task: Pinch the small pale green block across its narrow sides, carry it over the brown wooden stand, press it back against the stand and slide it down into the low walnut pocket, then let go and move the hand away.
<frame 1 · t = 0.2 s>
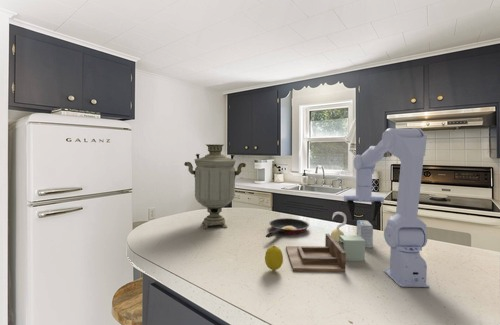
hand: (362, 219, 101), 10 cm above the countertop, tool pointing down, fingers open, 7 cm apart
brown wooden stand: (312, 259, 88), on the countertop
frying pan: (283, 234, 115), on the countertop
medicine box: (364, 244, 102), on the countertop
pale green block: (351, 257, 90), on the countertop
pale yellow rounded piece: (338, 240, 107), on the countertop
lemon: (273, 271, 79), on the countertop
samovar: (216, 223, 129), on the countertop
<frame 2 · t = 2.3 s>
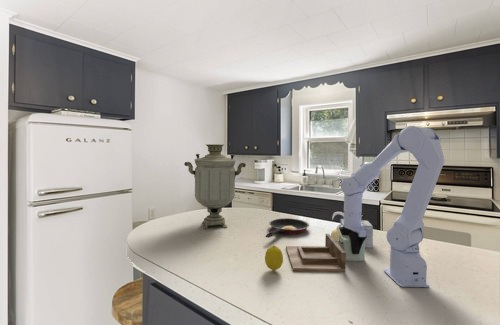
hand: (351, 250, 89), 2 cm above the countertop, tool pointing down, fingers closed on pale green block, 5 cm apart
pale green block: (351, 257, 90), on the countertop, touching gripper
everything else where it was.
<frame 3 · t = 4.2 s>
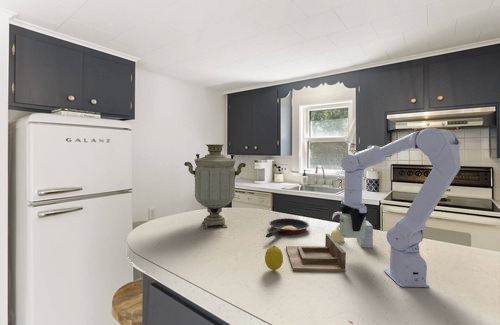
hand: (352, 228, 89), 10 cm above the countertop, tool pointing down, fingers closed on pale green block, 5 cm apart
pale green block: (351, 235, 89), point 8 cm above the countertop, touching gripper
everything else where it was.
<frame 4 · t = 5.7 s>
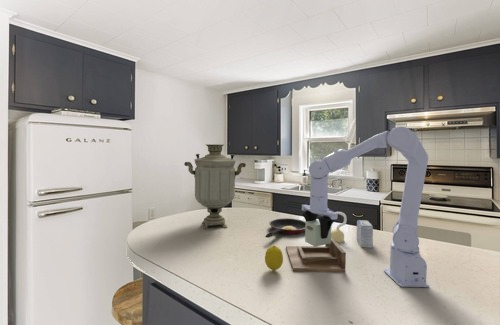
hand: (317, 235, 87), 8 cm above the countertop, tool pointing down, fingers closed on pale green block, 5 cm apart
pale green block: (317, 242, 88), point 6 cm above the countertop, touching gripper
everything else where it was.
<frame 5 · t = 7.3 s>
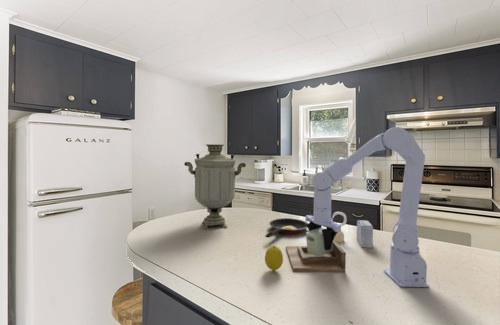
hand: (321, 246, 88), 4 cm above the countertop, tool pointing down, fingers closed on pale green block, 5 cm apart
pale green block: (320, 251, 87), point 3 cm above the countertop, tilted 7°, touching brown wooden stand, gripper
everything else where it was.
when the fingers open (4 cm above the countertop, at t = 7.4 s): pale green block drops 1 cm, resting on brown wooden stand.
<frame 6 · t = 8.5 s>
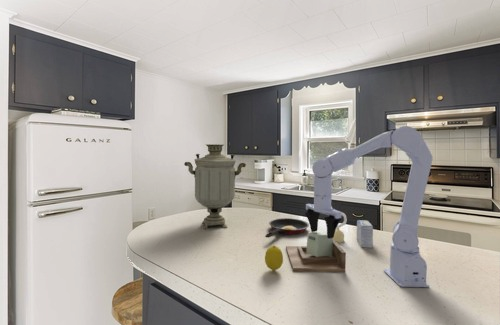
hand: (322, 234, 87), 9 cm above the countertop, tool pointing down, fingers open, 7 cm apart
pale green block: (319, 254, 88), point 2 cm above the countertop, tilted 10°, touching brown wooden stand
everything else where it was.
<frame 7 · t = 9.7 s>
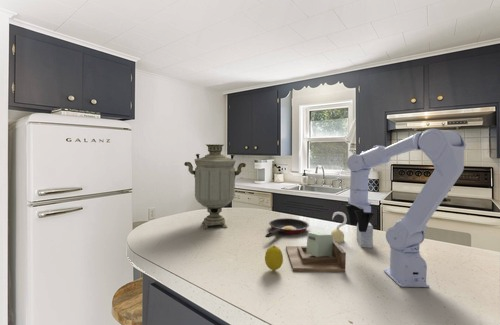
hand: (357, 228, 89), 10 cm above the countertop, tool pointing down, fingers open, 7 cm apart
nothing on the countertop moved.
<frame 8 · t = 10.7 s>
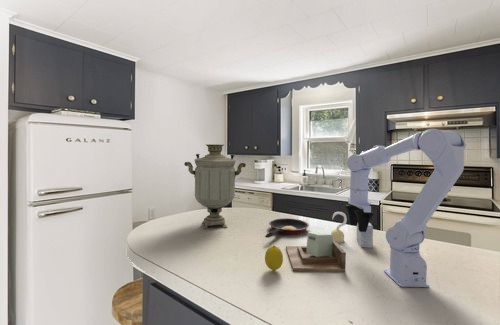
hand: (357, 228, 89), 10 cm above the countertop, tool pointing down, fingers open, 7 cm apart
nothing on the countertop moved.
at the end: pale green block 0.4 cm from the target spot on the brown wooden stand, point 1.8 cm above the brown wooden stand's base; pale green block tilted 10°; the gripper is holding nothing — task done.
